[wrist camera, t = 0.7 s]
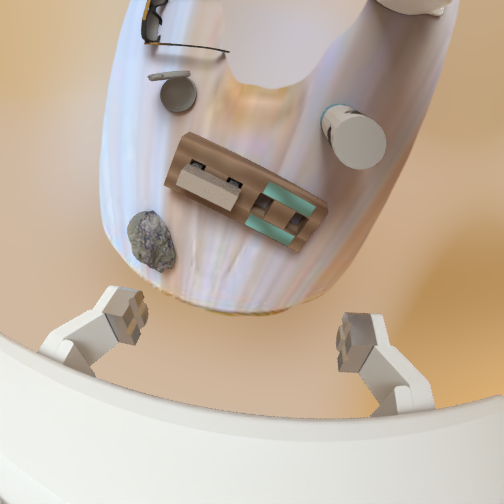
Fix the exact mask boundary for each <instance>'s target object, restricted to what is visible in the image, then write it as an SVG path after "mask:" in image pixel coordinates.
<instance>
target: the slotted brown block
mask: <svg viewBox="0 0 504 504" xmlns="http://www.w3.org/2000/svg"><path fill="white" fill-rule="evenodd" d="M195 161H198V162H200V163H202V164H204V165H206V168H205V170H204V171H205V172H207V173H209V174H211V175H214V176H216V177H218V178H220V179H222V180H224V181H226V182H227V180H228V178H229V177H230V178H232V179H234V180H236V181H238V182H240V183H242V186H241V188H240V189H241V191H240V194H239V196H238V198H237V200H236V202H235V204H234V206H233V207H232V209H231V211H229V210H227V209H225V208H223V207H221V206H219V205H217V204H214V203H212V202H210V201H208V200H206V199H204V198H202V197H200V196H198V195H196V194H194V193H192V192H190V191H188V190H186V189H184V188H182V187H180V186H178V185H176V183H177V180H178V178H179V175H180V172H181V170H182V169H183V168H184V167H185V166H186V165H187V164H191V165H192V164H193V163H194V162H195ZM164 186H166V187H168V188H170V189H173V190H175V191H177V192H179V193H181V194H183V195H185V196H187V197H189V198H191V199H193V200H195V201H197V202H199V203H201V204H203V205H205V206H208V207H210V208H212V209H214V210H216V211H218V212H220V213H222V214H224V215H226V216H228V217H230V218H232V219H234V220H236V221H238V222H240V223H242V224H244V225H246V226H248V227H250V228H252V229H254V230H256V231H258V232H260V233H262V234H264V235H266V236H268V237H269V238H271V239H273V240H275V241H277V242H279V243H281V244H283V245H285V246H287V247H289V248H291V249H293V250H295V251H297V252H299V251H300V250H301V248H302V247H303V246H304V244H305V243H306V242H307V240H308V239H309V238H310V236H311V235H312V234H313V232H314V231H315V230H316V228H317V227H318V226H319V224H320V223H321V222H322V220H323V219H324V218H325V216H326V215H327V214H328V208H327V204H326V202H324V201H323V200H321V199H319V198H318V197H316V196H314V195H312V194H311V193H309V192H307V191H305V190H304V189H302V188H300V187H298V186H297V185H295V184H293V183H291V182H289V181H288V180H286V179H284V178H282V177H280V176H278V175H277V174H275V173H273V172H271V171H269V170H267V169H265V168H263V167H261V166H260V165H258V164H256V163H254V162H252V161H250V160H248V159H246V158H244V157H242V156H240V155H238V154H236V153H234V152H232V151H230V150H228V149H226V148H224V147H222V146H219V145H217V144H215V143H213V142H211V141H209V140H207V139H205V138H202V137H200V136H198V135H196V134H194V133H191V132H189V133H187V134H185V135H184V136H182V138H181V140H180V143H179V145H178V148H177V150H176V153H175V155H174V158H173V161H172V163H171V166H170V169H169V171H168V174H167V177H166V180H165V183H164ZM260 193H262V194H264V195H266V196H268V197H270V198H271V200H270V202H269V204H268V205H267V207H266V208H263V207H261V206H260V205H258V204H256V203H255V201H256V199H257V197H258V196H259V194H260ZM295 212H297V213H299V214H301V215H303V218H302V219H301V220H300V222H299V223H298V225H296V224H294V223H292V222H290V220H291V218H292V217H293V215H294V214H295Z"/></svg>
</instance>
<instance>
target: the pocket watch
mask: <svg viewBox="0 0 504 504" xmlns="http://www.w3.org/2000/svg"><path fill="white" fill-rule="evenodd" d="M189 76H190V71H172V72H163V73H156V74H152V75H149V76H148V78H149V80H150V81H157V80H166V79H169V80H167V81H166V82H165V83H164V85H163V86H162V89H161V93H160V97H161V101H162V103H163V105H164V106H165V107H166V108H167V109H168V110H170V111H173V112H181V111H185V110H186V109H188V108H190V107H191V106H192V104H193V103H194V101H195V99H196V93H197V92H196V87H195V85H194V83H193V82H192V81H191V80H190V79H188V78H186V77H189Z"/></svg>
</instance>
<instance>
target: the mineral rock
mask: <svg viewBox="0 0 504 504" xmlns="http://www.w3.org/2000/svg"><path fill="white" fill-rule="evenodd" d="M127 233H128V237H129V240H130V243H131V246H132V253H133V254H134V256H135V257H136V259H137V260H139V261H140V262H142V263H144V264H147V265H148V266H149V267H150V268H152V269H155V270H157V271H158V272H160V273H162V272H163V271H164V270H165V269H166V268H168V269H169V268H172V267H173V264H174V262H175V253H174V250H173V245H172V241H171V239H170V234H169V233H168V231H167V227H166V226H165V225H164V224H163V223H162V221H161V219H160V217H159V216H158V215H157V214H156V213H155V212H154V211H150V212H146V211H144V212H141V213H139V214H137V215H135V216H134V217H133V218H132V219H131V221H130V222H129V225H128V228H127Z"/></svg>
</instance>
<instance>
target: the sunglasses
mask: <svg viewBox="0 0 504 504" xmlns="http://www.w3.org/2000/svg"><path fill="white" fill-rule="evenodd" d="M167 2H168V0H147V3H146V7H145V10H144V14H143V18H142V26H141V35H142V38H143V39H144V40H145V43H144V44H152V45H170V46H173V45H175V46H188V47H198V48H206V49H213V50H218V51H222V52H227V53H229V51H225V50H221V49H216V48H209V47H201V46H192V45H181V44H171V43H153V42H158V41H159V40H160V36H161V35H160V36H158V25H159V24H160V25H161V26H162V18H161V17H160V16H159V15H158V14H157V13H156V8H157V7H158V6H162V5H164V4H166V3H167ZM148 8H149V10H148Z"/></svg>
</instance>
